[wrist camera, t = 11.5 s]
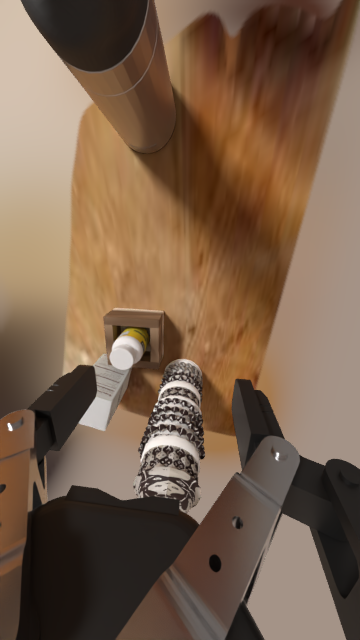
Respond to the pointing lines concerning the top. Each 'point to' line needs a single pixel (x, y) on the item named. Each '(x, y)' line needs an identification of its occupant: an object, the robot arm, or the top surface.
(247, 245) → the top surface
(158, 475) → the decorative candle
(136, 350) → the supplement bottle
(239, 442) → the robot arm
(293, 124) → the top surface
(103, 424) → the supplement box
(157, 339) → the socket block
